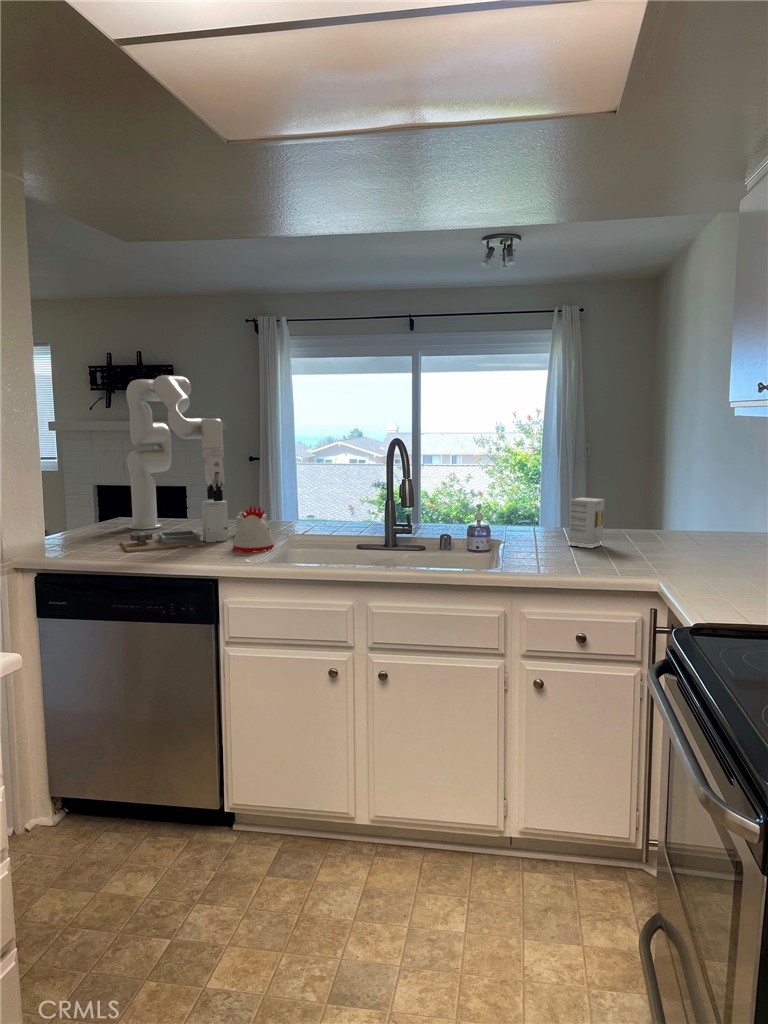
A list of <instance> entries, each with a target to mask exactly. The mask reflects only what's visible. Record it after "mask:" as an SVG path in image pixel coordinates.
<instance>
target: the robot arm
mask: <svg viewBox="0 0 768 1024" xmlns="http://www.w3.org/2000/svg"><path fill="white" fill-rule="evenodd" d="M191 392H192V385H191V383H190V381H189V380H188V378H186V377H185V376H183V375H167V374H164V375H163V374H162V375H158V376H157V377H156V378H154V379H151V378H149V379H148V378H147V379H145V378H141V379H140V378H139V379H134V380H132V381H130V382H129V384H128V385H127V388H126V402H127V404H128V409H129V428H130V429H129V431H130V440H131V444H133V445H134V446H136V447H154V448H152V449H149V448H148V449H136V450H133V451H131V452H130V453H129V454H128V455H127V458H126V465H127V468H128V473H129V478H130V479H129V480H130V492H131V493H130V494H131V510H132V511H131V512H132V516H131V517H132V523H130V524H129V525H128V528H129V529H132V530H152V529H153V530H154V529H158V528H161V527H162V523H161V522H158V511H157V507H158V506H157V505H158V504H157V487H156V482H155V479H154V478H153V477H152V475H151V474H152V473H162V472H167V471H168V470H169V469H170V467H171V465H172V438H171V437H172V436H171V431H170V429H169V427H170V428H171V429H172V431H173V432H174V433H175V435H176V436H177V437H179V438H181V439H183V440H201V450H202V451H201V454H202V455H201V456H202V458H204V459H205V460H204V464H205V465H204V468H205V482H206V492H207V493H206V494H207V495H206V496H207V499H208V500H214V501H215V502H217V501H223V500H224V495H223V485H224V484H225V480H226V479H225V471H224V470H225V469H224V461H223V458H224V457H225V455H224V454H225V453H224V433H223V432H224V431H223V430H224V429H223V421H222V420H221V419H220V418H205V417H203V418H202V417H192V418H191V417H187V418H185V417H184V416H183V413H185V412H187V410H188V409H189V407H190V405H191V401H190V397H189V396H190V394H191ZM148 402H162V403H163V404H164V406H165V407H166V409H168V412H167V421H168V425H169V426H168V425H167V424H166V423H164V422H160V421H159V422H158V421H156V422H155V421H154V420H153V410H152V408H151V406H150V404H148ZM153 421H154V422H153Z"/></svg>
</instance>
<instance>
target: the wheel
mask: <svg viewBox="0 0 768 1024" xmlns="http://www.w3.org/2000/svg"><path fill="white" fill-rule="evenodd" d="M139 533H145V534H141V535H139ZM152 538H153V532H149V531H137V532H131V533H129V540H131V541H146V540H152Z"/></svg>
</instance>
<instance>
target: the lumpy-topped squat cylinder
mask: <svg viewBox="0 0 768 1024" xmlns="http://www.w3.org/2000/svg"><path fill="white" fill-rule="evenodd" d="M256 511H257V512H258V510H256ZM242 512H243V513H244V514H245V515H246V512H244V511H240V512H238V514H237V516H236V517H235V518H236V519H235V520H236V521H235V522H236V523H235V525H236V529H237V528H238V526H239V524H240V523H241V522H242V520H243V519H244V517H243V515H242ZM262 519H263V520H264V521H265V522H266V524H267V514H266V513H264V514H263V516H262ZM267 525H268V524H267Z"/></svg>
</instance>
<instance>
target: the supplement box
mask: <svg viewBox="0 0 768 1024" xmlns="http://www.w3.org/2000/svg"><path fill="white" fill-rule="evenodd" d="M604 514H605V499H604V498H592V497H577V498H572V499H570V502H569V525H568V543H569V542H575V543H584V544H595V543H598V542H600V541H602V542H603V535H604V534H603V533H604V519H605V518H604V516H605V515H604Z"/></svg>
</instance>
